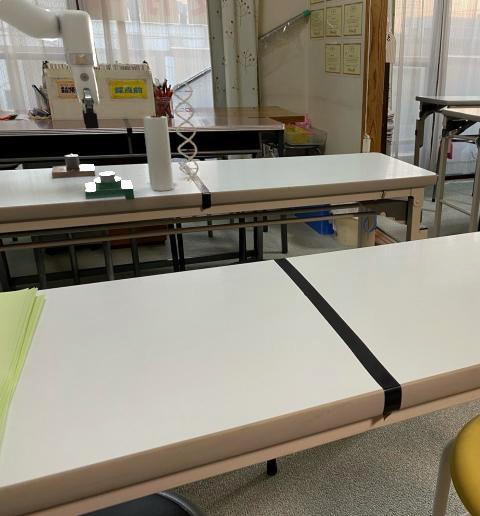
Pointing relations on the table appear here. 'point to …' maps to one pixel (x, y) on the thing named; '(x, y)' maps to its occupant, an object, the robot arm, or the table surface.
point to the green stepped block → (109, 189)
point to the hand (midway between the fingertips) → (91, 126)
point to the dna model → (188, 130)
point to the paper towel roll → (158, 152)
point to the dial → (72, 161)
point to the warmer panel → (73, 171)
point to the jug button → (107, 176)
